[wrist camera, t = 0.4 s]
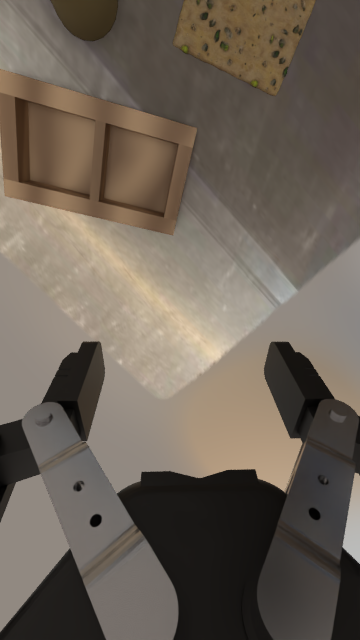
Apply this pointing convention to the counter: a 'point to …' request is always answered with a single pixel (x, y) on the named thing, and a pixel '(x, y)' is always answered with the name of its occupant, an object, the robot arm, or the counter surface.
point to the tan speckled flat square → (244, 36)
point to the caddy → (91, 154)
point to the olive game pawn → (87, 17)
